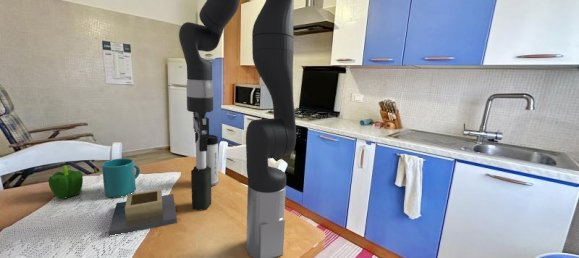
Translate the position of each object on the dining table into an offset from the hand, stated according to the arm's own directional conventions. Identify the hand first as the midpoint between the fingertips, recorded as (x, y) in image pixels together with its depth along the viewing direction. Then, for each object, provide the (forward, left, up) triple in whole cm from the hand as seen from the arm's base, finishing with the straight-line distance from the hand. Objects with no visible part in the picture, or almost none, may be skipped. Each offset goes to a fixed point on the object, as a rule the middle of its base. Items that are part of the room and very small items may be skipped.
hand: (201, 147), depth 76 cm
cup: (+21, +23, -20) cm, 37 cm away
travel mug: (+17, -6, -20) cm, 27 cm away
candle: (0, 0, -20) cm, 20 cm away
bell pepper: (+24, +39, -20) cm, 50 cm away
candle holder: (+1, +16, -20) cm, 26 cm away
